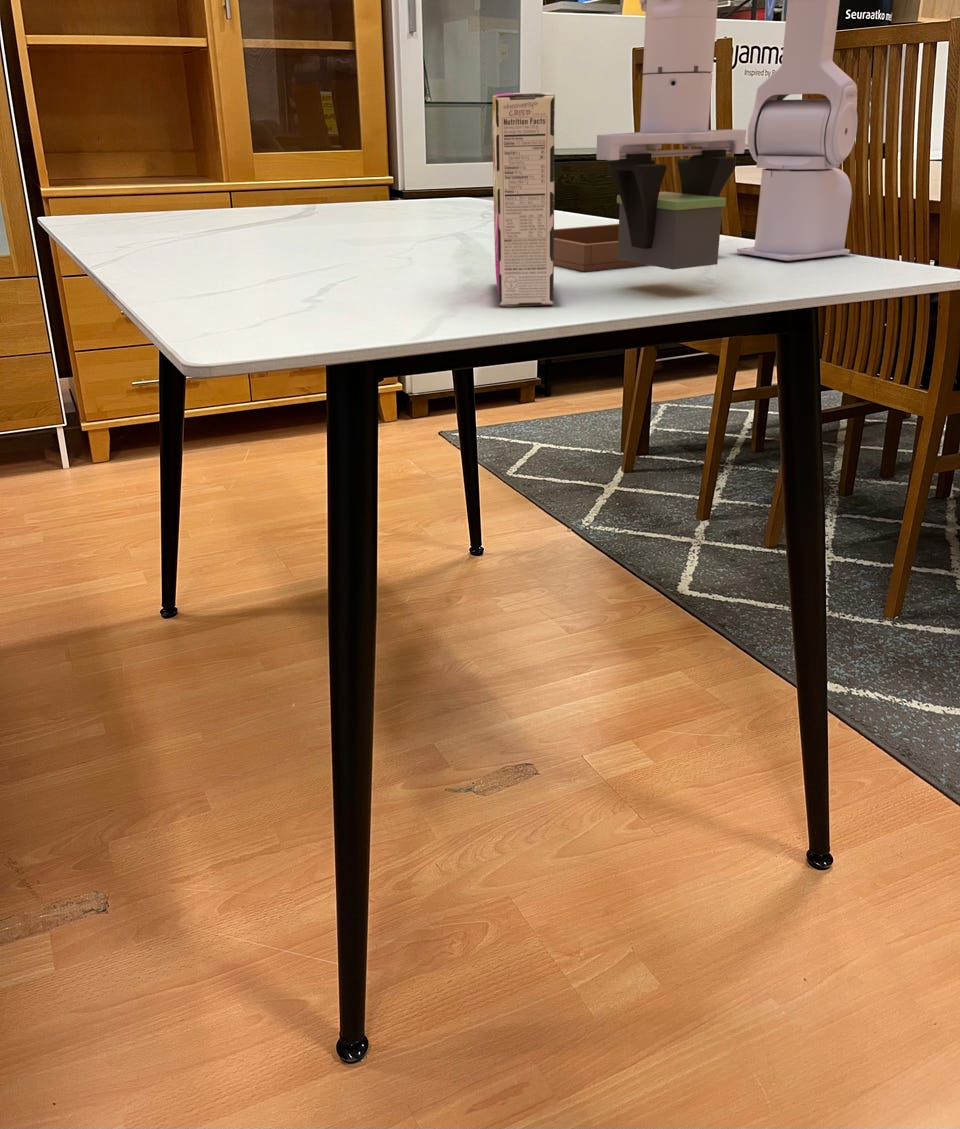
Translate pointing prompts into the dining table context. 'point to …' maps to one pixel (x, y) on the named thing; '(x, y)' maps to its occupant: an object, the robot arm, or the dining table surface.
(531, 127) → the candy bar box
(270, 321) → the dining table surface
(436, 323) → the dining table surface
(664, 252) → the container
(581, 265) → the tray
